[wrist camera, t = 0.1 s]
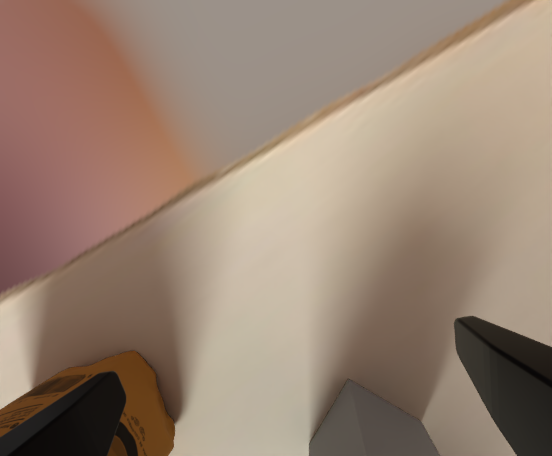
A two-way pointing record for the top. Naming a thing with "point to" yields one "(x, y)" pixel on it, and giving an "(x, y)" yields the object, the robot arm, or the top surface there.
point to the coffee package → (136, 415)
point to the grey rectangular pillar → (369, 428)
